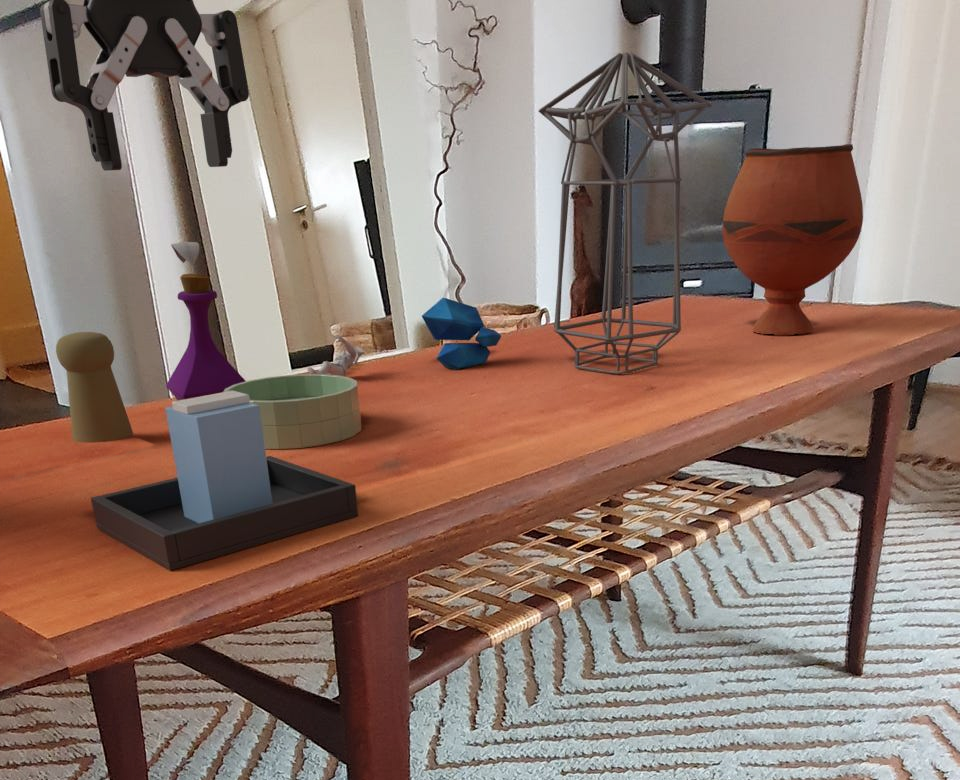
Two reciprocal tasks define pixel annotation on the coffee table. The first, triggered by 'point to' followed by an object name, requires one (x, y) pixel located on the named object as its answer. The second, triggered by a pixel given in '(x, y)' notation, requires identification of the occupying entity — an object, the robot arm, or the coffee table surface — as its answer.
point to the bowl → (304, 409)
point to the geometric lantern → (573, 114)
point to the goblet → (792, 225)
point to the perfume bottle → (199, 338)
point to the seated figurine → (340, 360)
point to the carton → (219, 455)
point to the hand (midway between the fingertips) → (166, 168)
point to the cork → (92, 388)
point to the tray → (182, 542)
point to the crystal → (459, 333)
